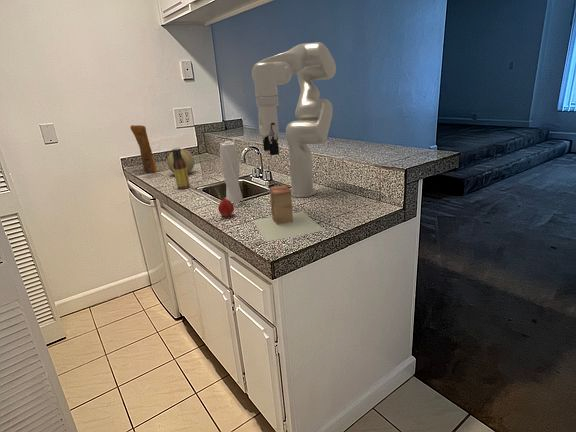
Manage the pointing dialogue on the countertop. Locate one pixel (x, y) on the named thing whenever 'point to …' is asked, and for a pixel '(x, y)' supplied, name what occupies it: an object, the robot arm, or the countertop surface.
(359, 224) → the countertop surface
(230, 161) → the skyscraper
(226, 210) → the onion
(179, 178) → the sauce bottle
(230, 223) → the countertop surface
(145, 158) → the brown tall curved piece
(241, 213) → the countertop surface
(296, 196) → the robot arm
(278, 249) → the countertop surface
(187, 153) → the cantaloupe
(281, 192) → the copper block
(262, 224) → the mat
